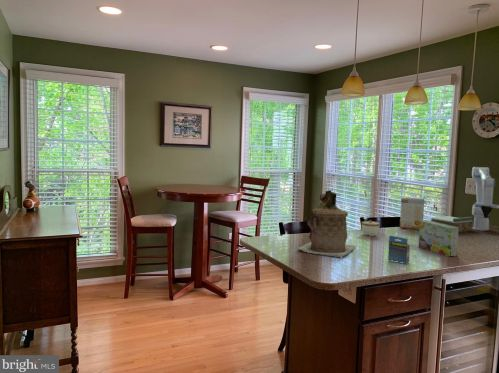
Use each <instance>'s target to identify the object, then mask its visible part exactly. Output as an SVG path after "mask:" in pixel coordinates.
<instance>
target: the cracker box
mask: <svg viewBox="0 0 499 373" xmlns="http://www.w3.org/2000/svg"><path fill="white" fill-rule="evenodd" d="M424 211H425V198H418V197H406V196H405V197H404V196H403V197H401V201H400V219H399V228H401V229H408V230H409V229H411V230H416V231H417V230H418V231H419V227H420V220H424V214H425V212H424Z"/></svg>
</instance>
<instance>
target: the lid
mask: <svg viewBox="0 0 499 373" xmlns="http://www.w3.org/2000/svg"><path fill="white" fill-rule="evenodd" d="M473 217H474V216H473ZM473 217H472V216H465V217H455V216H451V215H450V216H449V215H447V216H446V215H445V216H434V217H431V219H435V220H441V221H446V222H452V223H462V222H473V221H474V218H473ZM431 219H430V220H431Z"/></svg>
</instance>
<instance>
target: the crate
mask: <svg viewBox="0 0 499 373" xmlns="http://www.w3.org/2000/svg"><path fill="white" fill-rule="evenodd" d="M430 221H433V222H437V223H441V224H446V225H450V226H454V227H458V228H459V230H458V233H462V232H463V233H464V232H471V231H472V230H473V229H472V228H473V221H471V222H462V223H452V222H446V221H441V220H435V219H430Z"/></svg>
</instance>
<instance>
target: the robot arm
mask: <svg viewBox="0 0 499 373" xmlns="http://www.w3.org/2000/svg"><path fill="white" fill-rule="evenodd" d="M471 177H472V180H473V181H474V182H475V194H476V195H475V196H476V202H474V203H473V204H472V208H471V214H472V215H473V217H474V218H473V227H472V230H477V231H480V232H482V231H490V228H489V227H490V220H489V216H490V214H491V212H492V210H493V208H495V209H499V204H493V198H494V188H495V186H496V179H495V178H492V177H491V175H490V168H489V167H481V166H479V167H478V166H473V167H472V170H471Z"/></svg>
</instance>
